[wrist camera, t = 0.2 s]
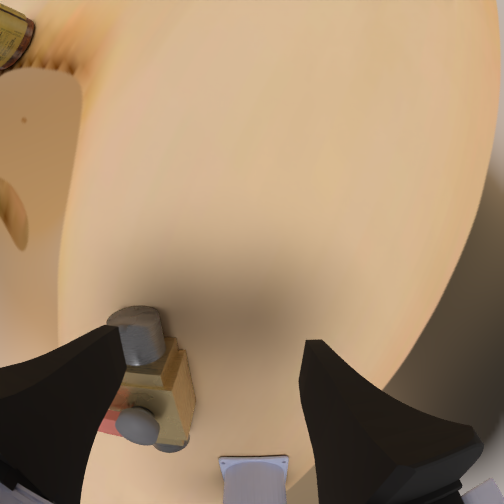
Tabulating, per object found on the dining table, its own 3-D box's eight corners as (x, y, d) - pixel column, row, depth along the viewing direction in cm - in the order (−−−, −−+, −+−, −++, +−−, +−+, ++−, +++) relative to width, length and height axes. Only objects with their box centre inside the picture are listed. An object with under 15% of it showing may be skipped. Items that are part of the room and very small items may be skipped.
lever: (164, 437, 17) (161, 448, 16) (36, 406, 17) (31, 412, 16) (154, 411, 16) (150, 422, 15) (22, 380, 16) (16, 387, 15)
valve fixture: (202, 425, 24) (194, 468, 19) (147, 420, 24) (133, 459, 19) (178, 306, 20) (156, 348, 15) (109, 304, 20) (75, 340, 15)
